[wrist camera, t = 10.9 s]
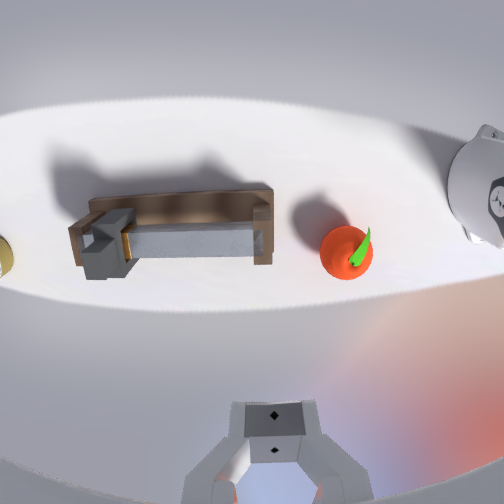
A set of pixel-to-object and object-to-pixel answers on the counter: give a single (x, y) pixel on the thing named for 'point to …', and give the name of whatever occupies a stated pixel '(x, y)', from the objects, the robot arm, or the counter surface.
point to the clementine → (346, 252)
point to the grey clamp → (108, 247)
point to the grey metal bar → (186, 240)
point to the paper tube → (5, 257)
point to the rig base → (189, 213)
